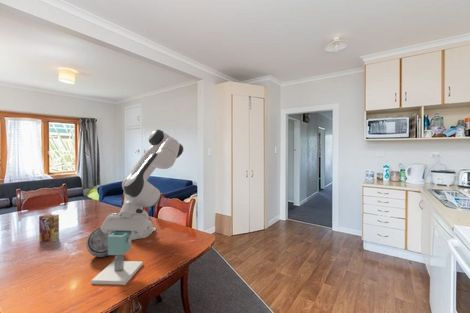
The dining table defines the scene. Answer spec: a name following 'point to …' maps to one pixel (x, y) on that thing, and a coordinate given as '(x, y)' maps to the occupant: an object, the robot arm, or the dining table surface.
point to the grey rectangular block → (118, 263)
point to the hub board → (117, 273)
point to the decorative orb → (98, 243)
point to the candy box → (48, 228)
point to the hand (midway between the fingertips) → (118, 242)
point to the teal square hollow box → (118, 243)
